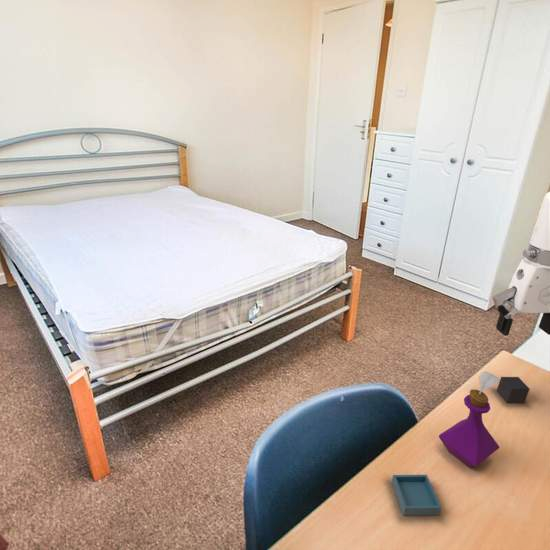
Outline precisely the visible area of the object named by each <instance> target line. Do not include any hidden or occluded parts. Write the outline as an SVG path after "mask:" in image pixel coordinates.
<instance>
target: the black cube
mask: <svg viewBox="0 0 550 550" xmlns="http://www.w3.org/2000/svg"><path fill="white" fill-rule="evenodd" d="M499 379H500V381H499V382H498V386H497V388H496V392H497V393H498V394H499V396H500V397H501V398H502V399H503V401H504V402H505V403H506V404H525V402H526V400H527V397H528V395H529V392H530V389H531V388H530V387H528V385H527V384H526V383H525V382H524V381H523V380H522V379H521V378H520V377H519V376H500V378H499Z"/></svg>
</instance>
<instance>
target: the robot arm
mask: <svg viewBox="0 0 550 550" xmlns="http://www.w3.org/2000/svg"><path fill="white" fill-rule="evenodd" d="M522 256H523V257H524V258H522V259H521V261H520V262H519V264H518V265H517V267H516V270H514V271H515V272H514V274H513V276H512V278H511V281H510V283H509V285H508V288H507V289H504V290H503V291H500V292H499V293H496V294H493V296H492V301H493V304H494V305H493V307H494V308H495V309H496V310H497V313H499V316H498V318H497V322H496V326H495V328H496V329H495V330H496V331H498V332H499V333H500V334H501V335H503V336H504V337H505V336H509V334H510V331H511V328H512V325H513V322H514V319H513V317H514V316H515V315H516V314H517V313H521V314H542V316H541V319H540V322H539V323H538V328H539V329H540V330H541V331H543V332H544V333H545V334H547V336H548V335H549V336H550V191H548V192H547V193H546V194H545V195H544V197H543V200H542V202H541V206H540V208H539V213H538V216H537V218H536V221H535V225H534V228H533V230H532V234H531V237H530V241H529V244H528V246H527V249H524V250H523V251H522ZM504 302H505V303H504ZM511 307H512V308H511Z"/></svg>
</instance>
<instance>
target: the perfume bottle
mask: <svg viewBox="0 0 550 550" xmlns="http://www.w3.org/2000/svg"><path fill="white" fill-rule="evenodd" d="M500 379H501V378H499V377H498V376H497V375H495V374H493V373H490V372H488V371H486V370H485V371H484V370H483V372H481V374H480V376H479V380H478V382H479V386H480V390H479V389H474V388H473V389H470V390H469V394H467V395H466V396H465V397H464V398H463V403H464V405H465V407H467V409H469V412H468V416H467V417H466V418H465V419H461V420H460V421H458V422H456V423H455V424H454V425H452V426H450V427H449V428H448V429H446V430H445V431H443V432H442V433H440V434H438V438H439V440H440V441H441V443H442V444H443V445H444V447H445V449H446V450H447V452H448V453H449V454H451V455H452V456H453V457H455V458H456V459H457V460H458V461H459V462H461V463H462V464H463V465H464V466H465V467H467V468H473V467H477V466H479V464H481V463H482V462H484V461H485V460H486V459H487V458H489V457H490V456H491V455H492V454H494V453H495V452H497V451H498V450H499V449H500V445H499V444H498V442H497V441H496V440H495V438H494V437H493V435H492V434H491V433H490V431H488V429H487V427H486V426H485V424H484V422H483V414H488V413H489V411H491V405H490V402H489V398H488V396H487V395H486V393H485V392H483V390H486V389H489V388H491V387H493V386H495V385H496V384H497V383H499V382H500Z"/></svg>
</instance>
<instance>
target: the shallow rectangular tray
mask: <svg viewBox="0 0 550 550" xmlns="http://www.w3.org/2000/svg"><path fill="white" fill-rule="evenodd" d="M391 485H392V488H393V491H394V494H395V496H396V499H397V502H398V505H399V508H400V511H401V514H402V516H404V517H405V516H406V517H407V516H409V517H410V516H440V513H441V511H442V505H441V503H440V501H439V498H438V495H437V494H436V491H435V490H434V487H433V486H432V483H431V481H430V478H429V477H428V474H393V475H392V478H391Z"/></svg>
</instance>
